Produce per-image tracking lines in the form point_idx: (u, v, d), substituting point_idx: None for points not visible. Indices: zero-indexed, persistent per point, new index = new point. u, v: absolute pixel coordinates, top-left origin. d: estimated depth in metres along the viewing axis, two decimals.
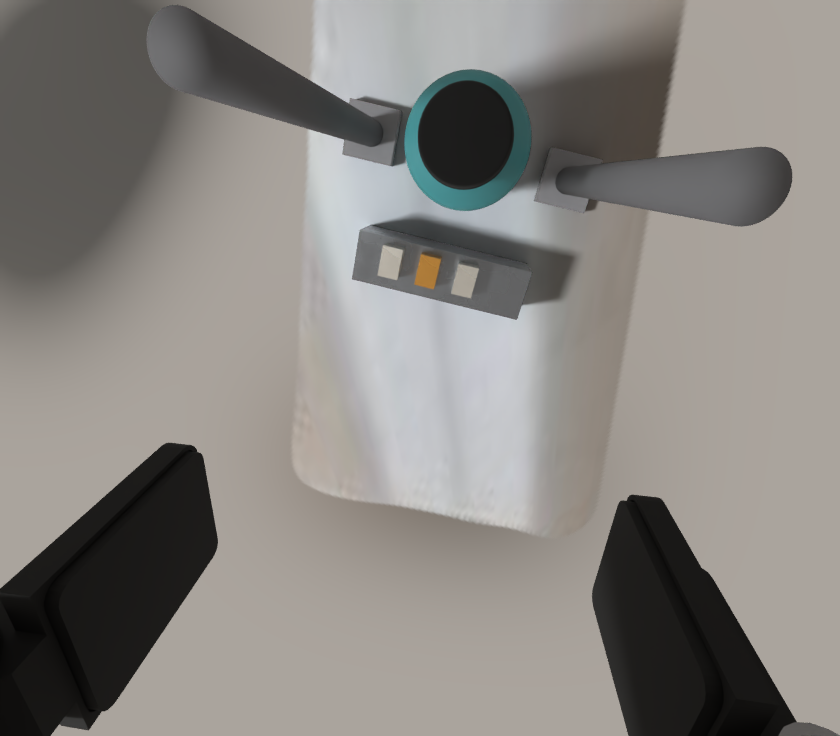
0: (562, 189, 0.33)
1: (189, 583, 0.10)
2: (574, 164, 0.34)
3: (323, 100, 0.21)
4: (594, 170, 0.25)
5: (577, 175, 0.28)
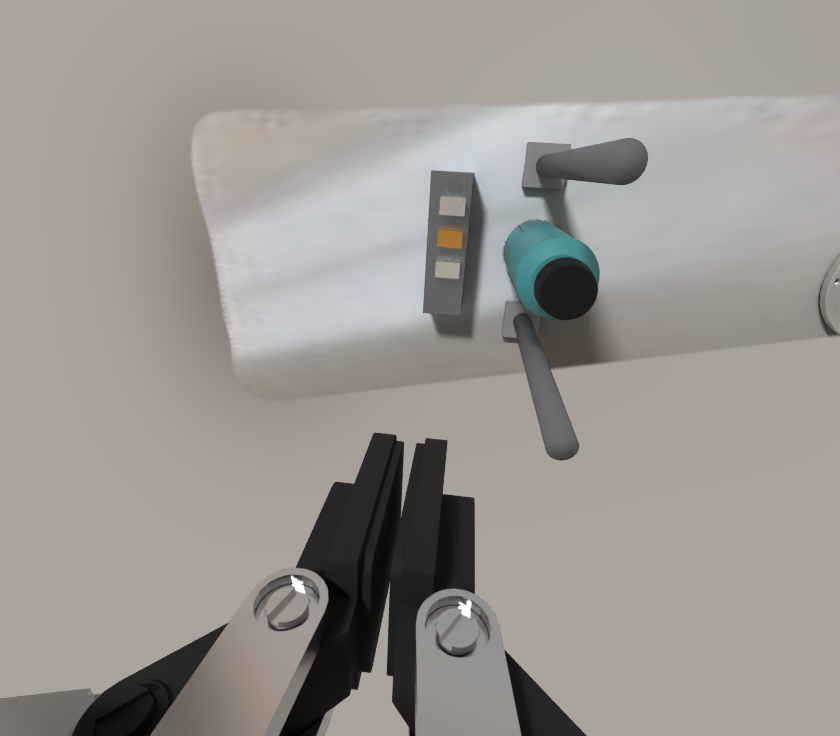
0: (518, 321, 0.48)
1: None
2: (533, 322, 0.50)
3: None
4: (540, 350, 0.40)
5: (532, 335, 0.43)
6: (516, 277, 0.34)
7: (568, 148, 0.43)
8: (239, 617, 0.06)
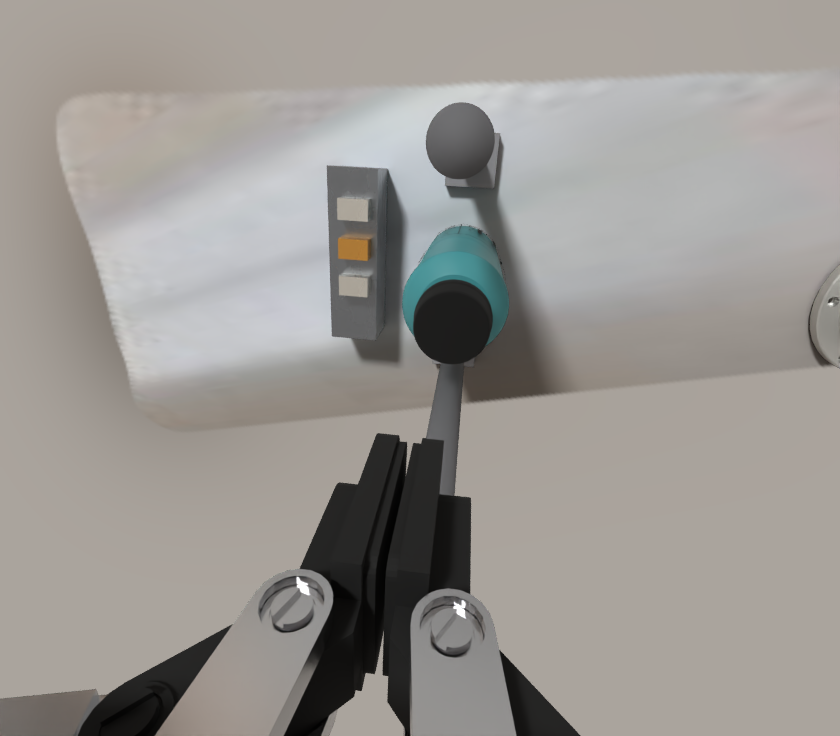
0: None
1: None
2: None
3: None
4: (454, 389, 0.32)
5: (453, 368, 0.35)
6: (403, 303, 0.26)
7: (497, 138, 0.35)
8: (244, 618, 0.06)
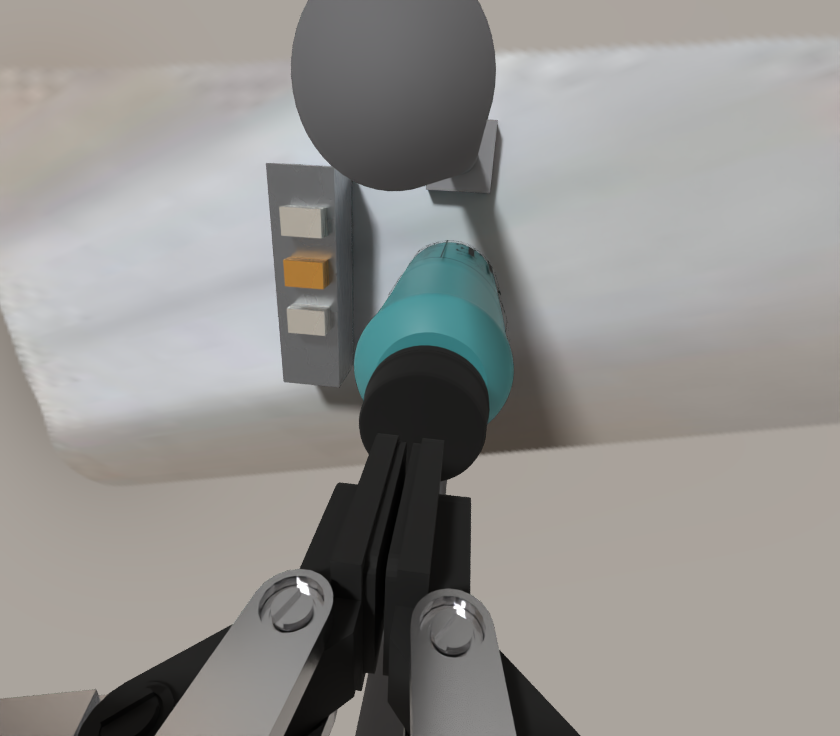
0: None
1: None
2: None
3: None
4: None
5: None
6: (355, 368, 0.17)
7: (494, 127, 0.26)
8: (244, 618, 0.06)
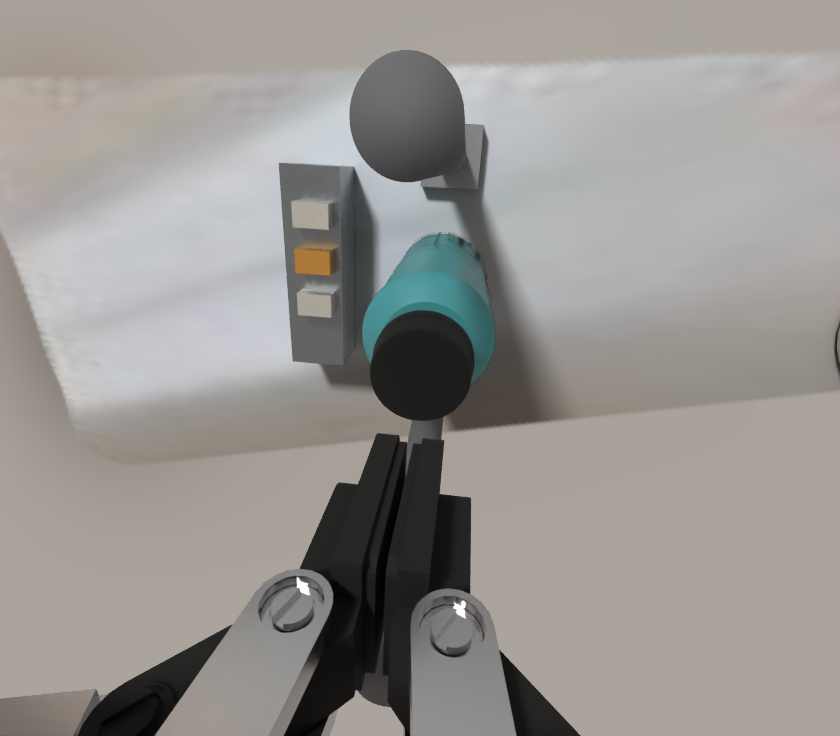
0: None
1: None
2: None
3: None
4: (432, 431, 0.27)
5: None
6: (363, 335, 0.21)
7: (480, 131, 0.30)
8: (244, 618, 0.06)
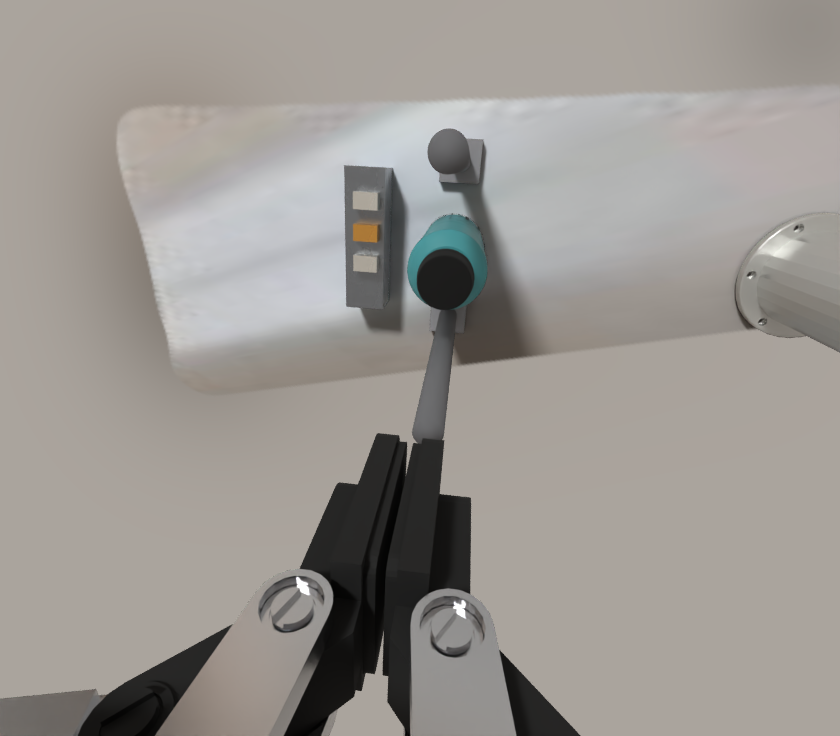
0: (440, 315, 0.48)
1: None
2: (458, 316, 0.51)
3: None
4: (447, 342, 0.40)
5: (446, 328, 0.44)
6: (408, 269, 0.35)
7: (480, 143, 0.43)
8: (244, 618, 0.06)
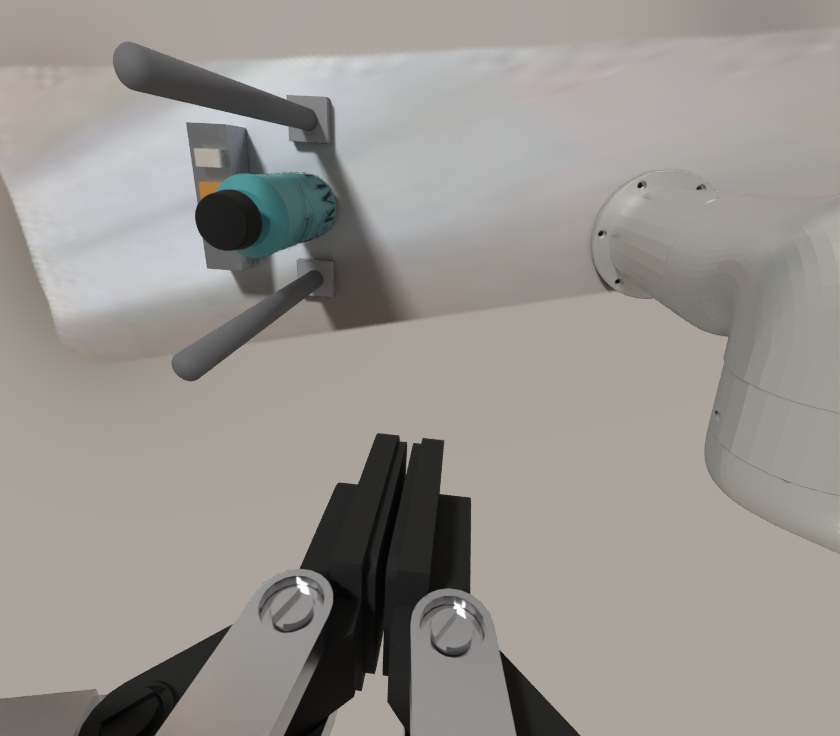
0: None
1: None
2: (325, 280, 0.51)
3: (236, 112, 0.31)
4: (279, 296, 0.40)
5: (291, 286, 0.44)
6: None
7: (324, 101, 0.43)
8: (244, 618, 0.06)
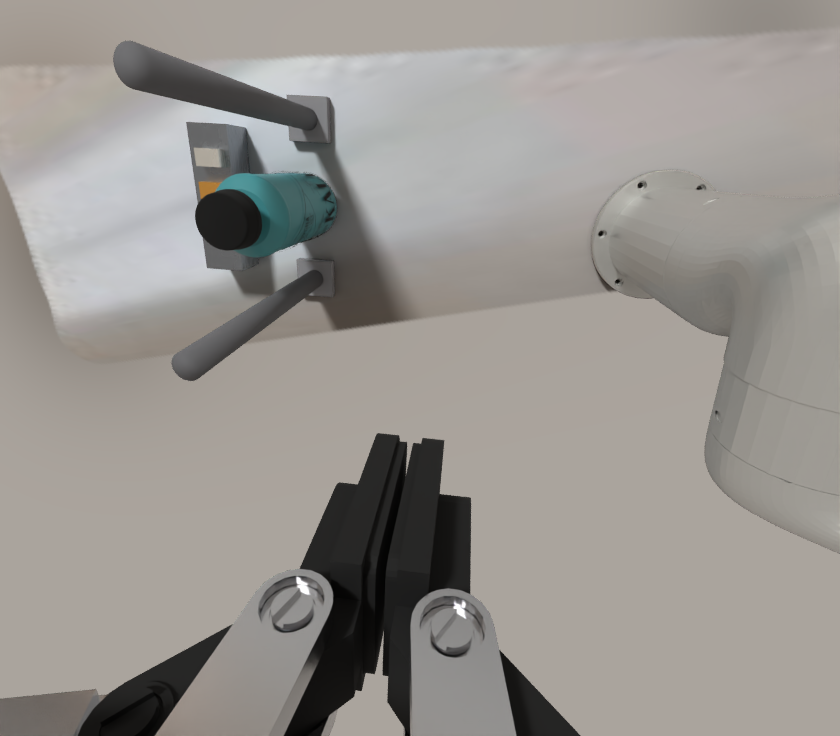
0: None
1: None
2: (325, 279, 0.51)
3: (236, 111, 0.31)
4: (279, 296, 0.40)
5: (291, 285, 0.44)
6: None
7: (325, 101, 0.43)
8: (244, 618, 0.06)
